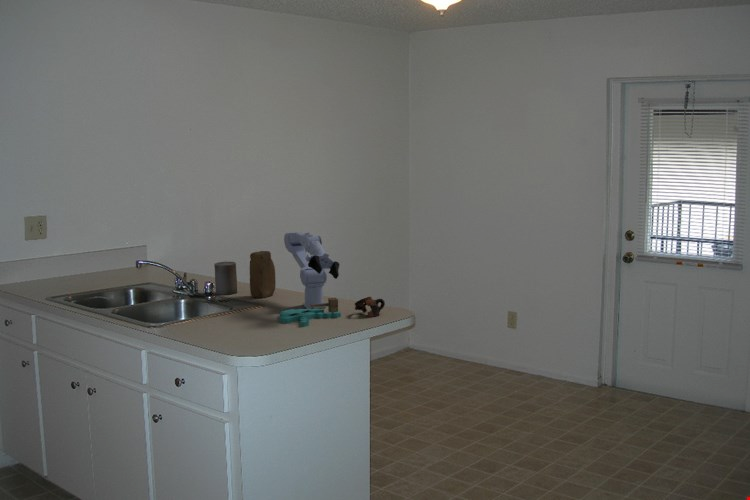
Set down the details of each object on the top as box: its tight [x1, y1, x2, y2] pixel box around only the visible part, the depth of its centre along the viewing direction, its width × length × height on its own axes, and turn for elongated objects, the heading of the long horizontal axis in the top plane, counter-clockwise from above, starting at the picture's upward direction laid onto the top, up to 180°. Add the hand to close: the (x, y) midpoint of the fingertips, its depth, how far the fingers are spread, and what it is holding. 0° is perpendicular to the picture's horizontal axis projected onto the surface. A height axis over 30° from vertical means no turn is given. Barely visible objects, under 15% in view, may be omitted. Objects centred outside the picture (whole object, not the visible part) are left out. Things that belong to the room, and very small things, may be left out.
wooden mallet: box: [310, 297, 339, 313], centre depth 305 cm, size 4×10×6 cm, turn 106°
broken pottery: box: [354, 296, 386, 318], centre depth 304 cm, size 12×10×8 cm
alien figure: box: [278, 308, 342, 328], centre depth 299 cm, size 20×2×20 cm
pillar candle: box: [213, 260, 238, 296], centre depth 349 cm, size 10×10×15 cm
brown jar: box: [249, 250, 277, 299], centre depth 341 cm, size 11×8×20 cm
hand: (328, 274), depth 298 cm, fingers open, 7 cm apart
